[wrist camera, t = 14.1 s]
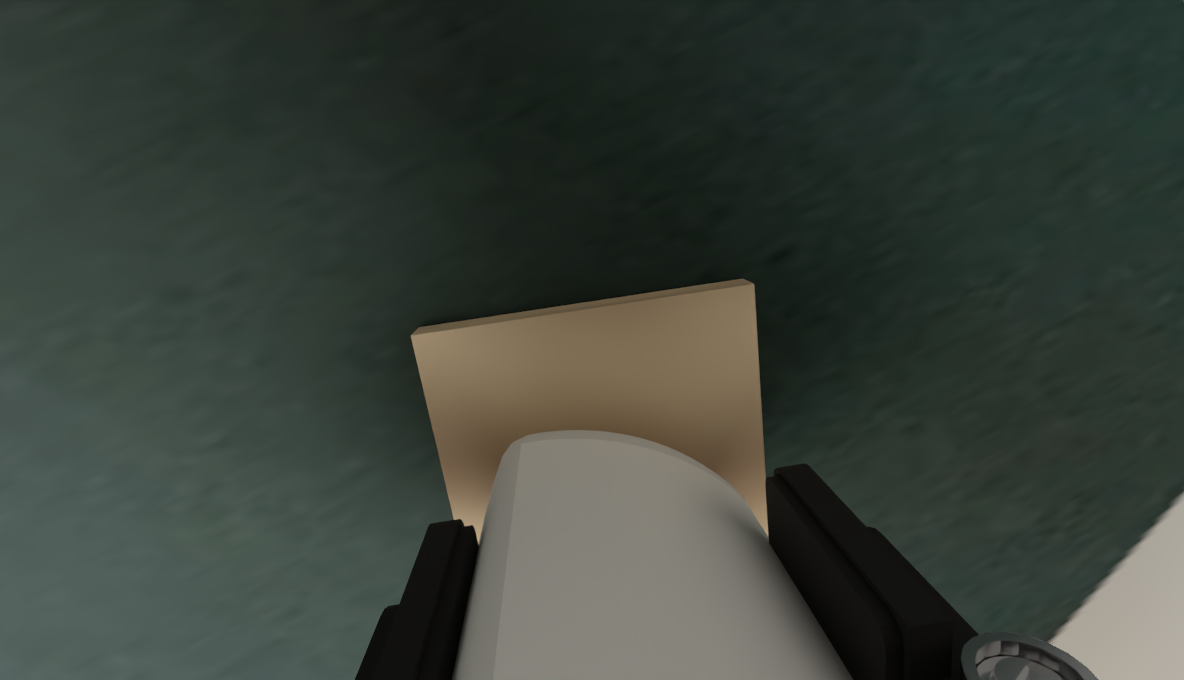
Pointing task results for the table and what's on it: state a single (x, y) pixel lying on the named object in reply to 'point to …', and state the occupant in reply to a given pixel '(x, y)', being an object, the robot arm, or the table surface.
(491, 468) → the coaster
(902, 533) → the table surface
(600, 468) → the eye dropper bottle
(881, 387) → the table surface
